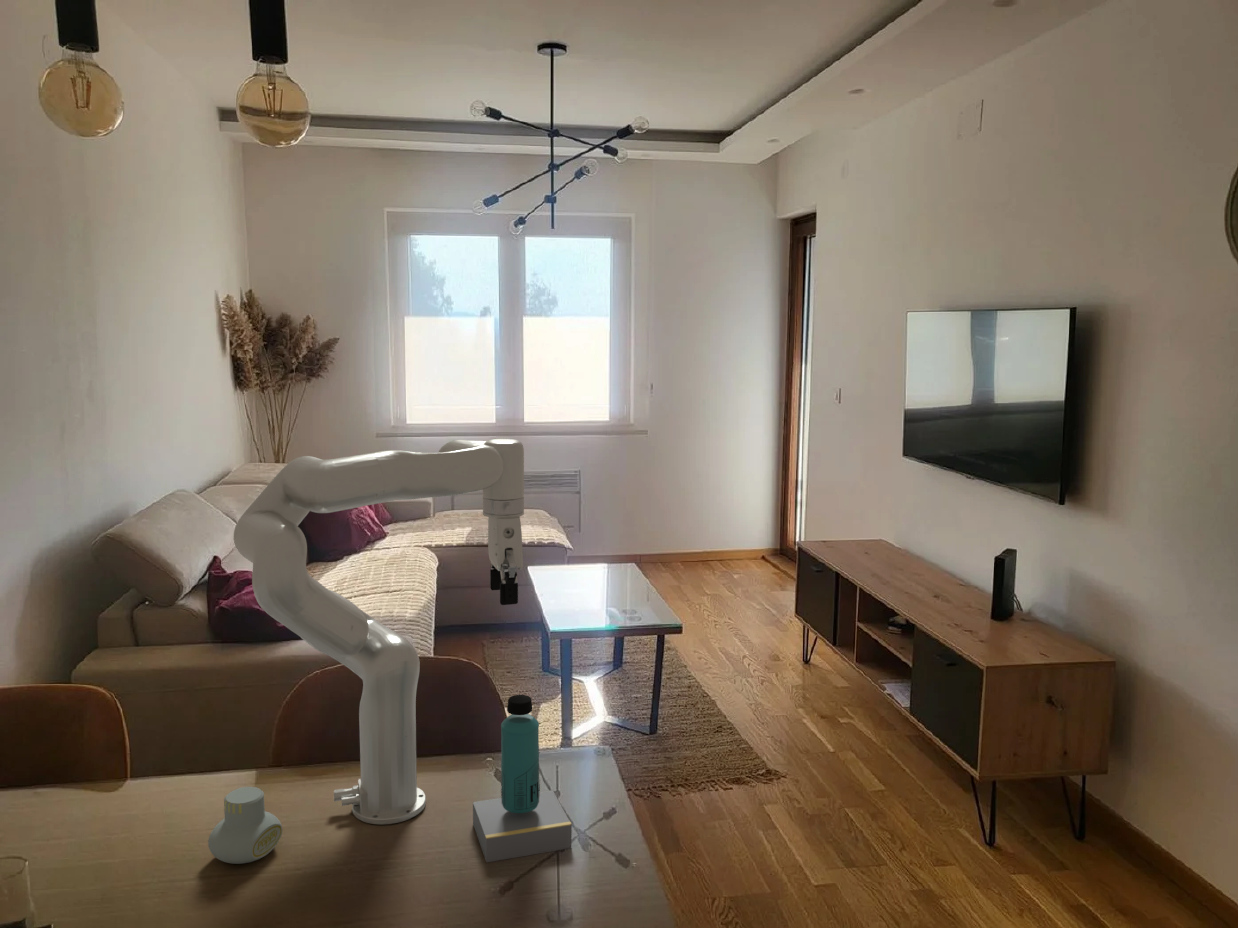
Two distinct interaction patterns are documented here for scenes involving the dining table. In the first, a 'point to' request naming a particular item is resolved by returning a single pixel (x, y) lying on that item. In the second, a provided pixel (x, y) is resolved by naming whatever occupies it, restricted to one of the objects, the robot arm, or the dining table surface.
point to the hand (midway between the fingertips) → (503, 596)
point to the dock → (521, 828)
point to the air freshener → (244, 828)
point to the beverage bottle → (520, 757)
